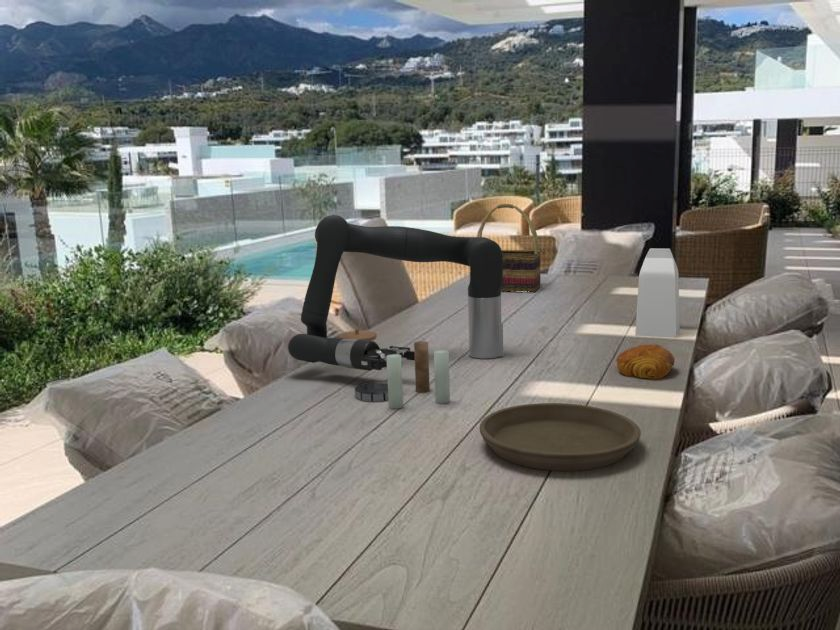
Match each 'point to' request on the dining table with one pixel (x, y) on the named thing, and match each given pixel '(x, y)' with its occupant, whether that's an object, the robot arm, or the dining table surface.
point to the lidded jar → (359, 335)
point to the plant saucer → (559, 436)
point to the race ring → (366, 393)
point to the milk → (658, 296)
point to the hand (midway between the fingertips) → (411, 360)
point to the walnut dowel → (421, 366)
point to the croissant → (645, 362)
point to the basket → (519, 261)
